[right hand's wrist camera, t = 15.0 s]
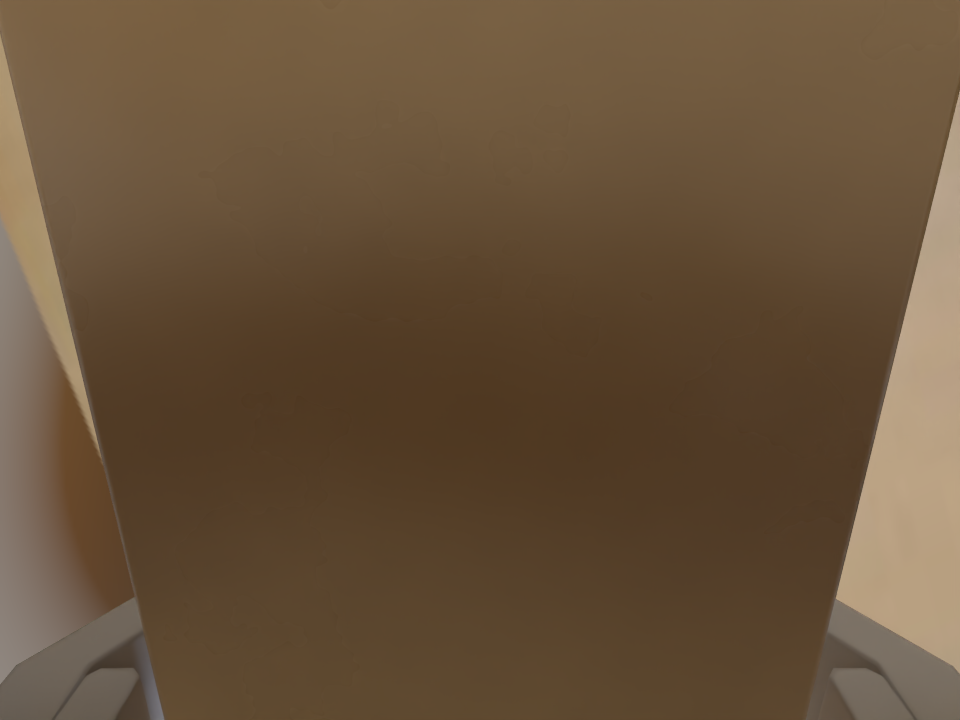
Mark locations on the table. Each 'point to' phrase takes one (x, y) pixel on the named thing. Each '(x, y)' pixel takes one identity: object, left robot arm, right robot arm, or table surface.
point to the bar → (485, 334)
